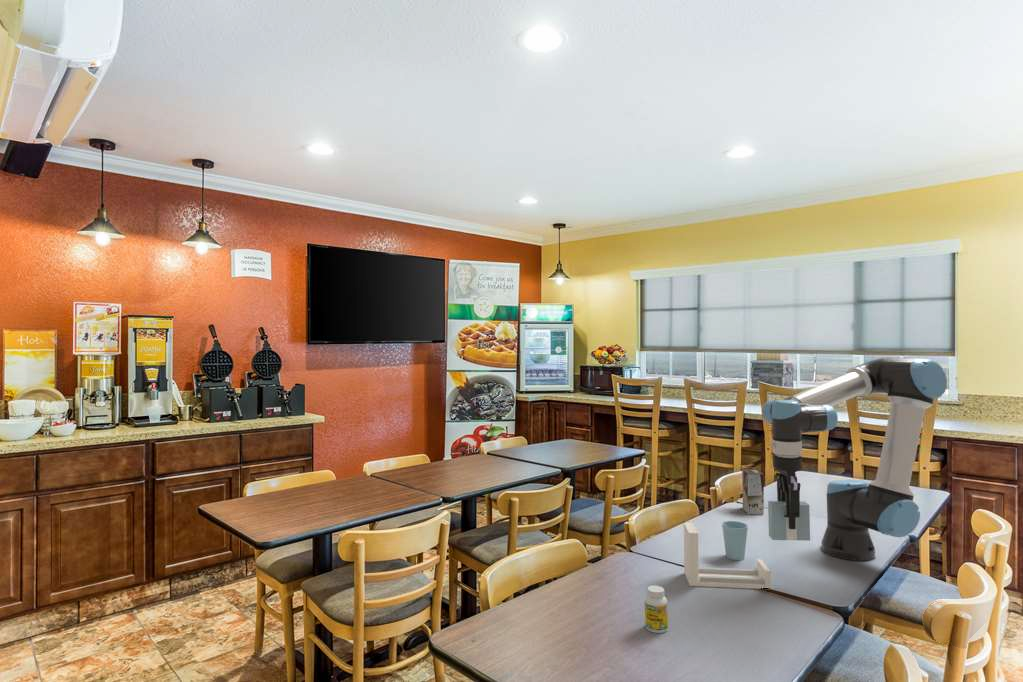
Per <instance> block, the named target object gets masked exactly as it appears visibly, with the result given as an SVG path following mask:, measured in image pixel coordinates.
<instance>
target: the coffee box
mask: <svg viewBox="0 0 1023 682" xmlns="http://www.w3.org/2000/svg"><path fill="white" fill-rule="evenodd" d="M741 471H742V472H741V473H742V474H741V475H742V477H741V479H742V481H741V482H742V483H741V485H742V488H741V489H742V509H743V510H744V511H745V513H747V515H763V516H764V514H765V511H764V510H765V507H764V506H765V502H764V501H765V499H764V498H765V497H764V496H765V495H764V492H765V490H764V489H765V488H764V486H765V484H764V483H765V479H764V473H763V472H761V471H760V470H759V469H757V468H743V469H741Z"/></svg>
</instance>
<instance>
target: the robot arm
mask: <svg viewBox="0 0 1023 682" xmlns="http://www.w3.org/2000/svg"><path fill="white" fill-rule="evenodd" d="M947 385H948V380H947V375H946V372H945V370H944V368H943V366H941V365H940V363H938V362H937V361H935V360H933V359H928V358H923V357H922V358H920V357H891V356H890V357H889V356H888V357H880V358H876V359H873V360H870V361H867V362H864V363H862V364H858V365H856V366H854V367H852V368H849V369H848V370H847V371H846V372H845V374H843V375H840V376H838V377H835V378H833V379H830V380H828V381H826V382H823V383H820V384H819V385H816V386H813V387H811V388H808V389H806V390H803V391H801V392H798V393H796V394H793V395H791V396H788V397H787V398H783V399H769V400H767V401H766V402H765V403H764V404H763V406H762V409H761V410H762V411H761V413H762V418H763V419H764V420H765V421H766V422H767V423H771V433H772V442H771V443H770V447H772V453H773V455H772V467H773V469H776V470H778V472H775V478H776V492H777V493H776V496H777V501H786V511H787V515H784V517H785V520H786V540H785V541H798V540H797V520H796V518H797V517H800V501H801V500H800V490H801V482H798V477H797V474H796V472H797V471H798V472H799V471H801V470H803V457H802V454H803V442H802V439H803V437H802V434H805V433H815V432H818V433H819V432H821V433H822V432H827V431H831V430H833V429H835V428H836V427H837V425H838V421H839V420H838V419H839V418H838V413H837V410H836V409H835V408H834V406H835V405H838V404H840V403H843V402H845V401H847V400H850V399H852V398H855V397H857V396H860V397H866V396H869V395H870V394H887V396H886V397H887V399H888V400H889V402H890V404H891V406H890V410H889V415H888V420H887V425H886V429H885V432H884V433H885V435H884V439H883V443H882V447H881V448H882V449H881V453H880V458H879V463H878V467H877V472H876V476H875V479H874V480H873V481H871V482H869V483H868V482H867V481H864V480H856V479H837V480H831V481H830V482H828V484H827V489H826V515H827V517H826V518H827V519H826V521H827V522H826V523H827V524H826V528H825V531H824V533H823V537H822V539H821V541H820V542H821V546H820V548H821V550H822V551H823V552H824V553H826V554H828V555H830V556H832V557H835V558H839V559H844V560H848V561H849V560H851V561H870V560H873V559H874V558H876V548H875V545H874V543H873V540H872V537H871V534H870V531H869V530H873V531H875V532H877V533H881V534H882V535H885V536H891V537H893V538H905V537H907V536H909V535H910V534H912V533H913V532H914V530H915V529H916V528H917V527H918V525H919V523H920V518H921V510H920V509H919V506H918V504H917V503H916V502H914V496H915V495H914V493H913V491H911V488H910V484H911V480H912V479H911V478H912V476H913V470H914V465H915V460H916V456H917V453H918V452H917V451H918V446H919V441H920V437H921V431H922V426H923V422H924V416H925V412H926V410H928V409H929V408H931V407H933V404H934V400H935V399H936V400H937V399H938V398H941V397H942V396H943V395H944V394H945V392H946V390H947V388H948V387H947Z"/></svg>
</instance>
